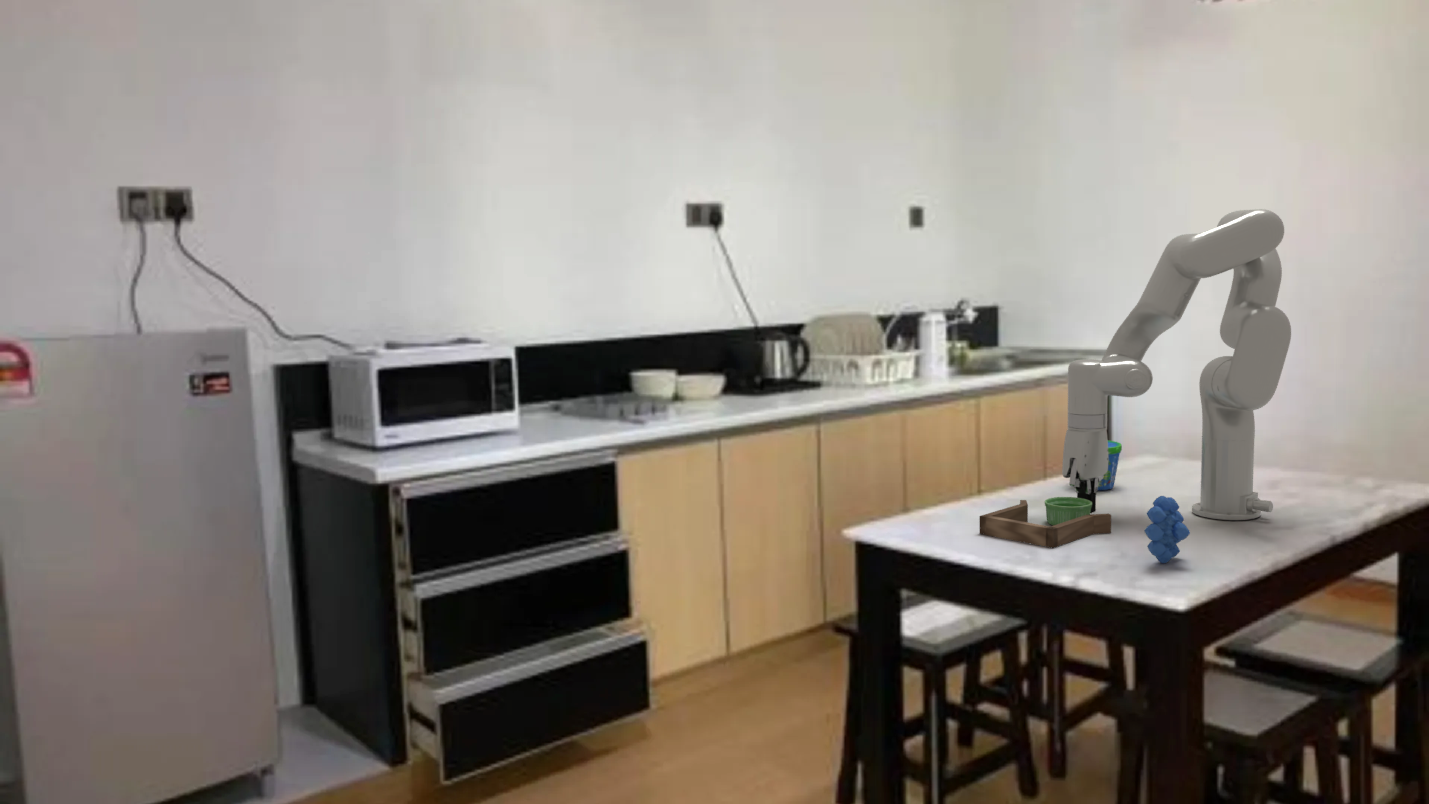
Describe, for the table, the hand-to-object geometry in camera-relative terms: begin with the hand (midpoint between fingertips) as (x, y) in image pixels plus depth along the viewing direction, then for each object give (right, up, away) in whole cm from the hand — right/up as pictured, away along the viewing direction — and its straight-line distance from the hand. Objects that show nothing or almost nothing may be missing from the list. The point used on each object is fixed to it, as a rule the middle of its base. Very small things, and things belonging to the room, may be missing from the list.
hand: (1086, 511), depth 229 cm
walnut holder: (-12, -3, -10) cm, 16 cm away
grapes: (+3, -6, -34) cm, 35 cm away
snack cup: (+11, +3, +27) cm, 29 cm away
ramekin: (-5, -2, -4) cm, 7 cm away
